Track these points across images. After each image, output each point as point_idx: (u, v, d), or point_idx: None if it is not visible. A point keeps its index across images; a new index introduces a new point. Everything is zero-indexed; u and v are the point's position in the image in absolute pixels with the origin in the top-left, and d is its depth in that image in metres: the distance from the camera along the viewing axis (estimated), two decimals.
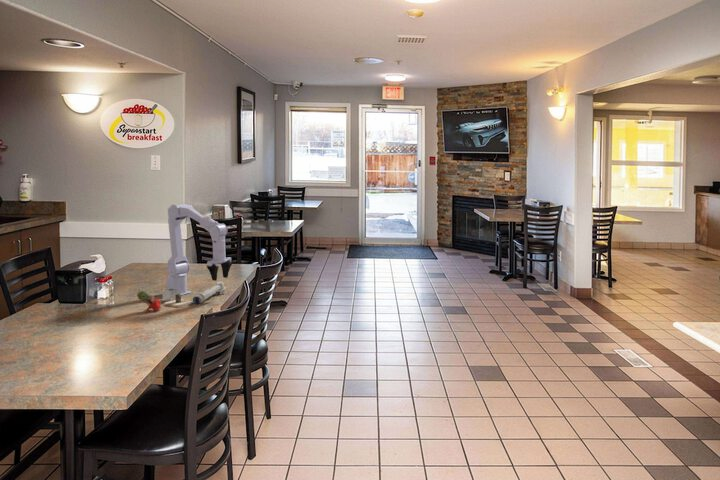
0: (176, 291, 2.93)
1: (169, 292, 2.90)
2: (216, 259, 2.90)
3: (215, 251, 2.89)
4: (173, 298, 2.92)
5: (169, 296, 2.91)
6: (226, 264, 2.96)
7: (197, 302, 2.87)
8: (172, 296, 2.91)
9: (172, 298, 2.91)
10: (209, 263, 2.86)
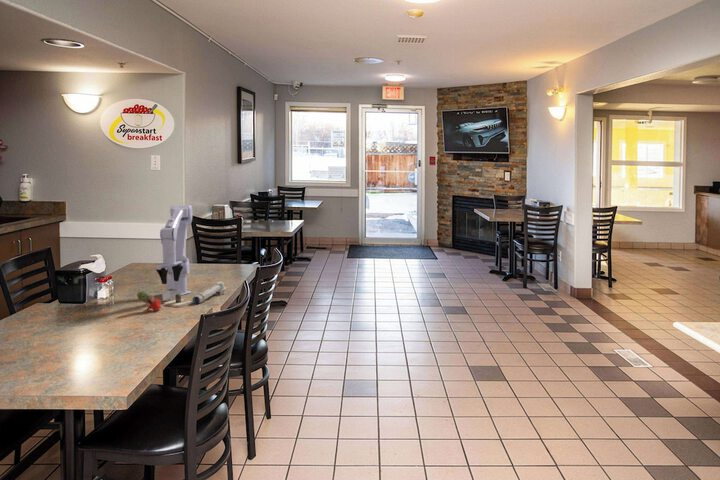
0: (176, 291, 2.93)
1: (169, 292, 2.90)
2: (166, 262, 2.89)
3: (165, 254, 2.89)
4: (173, 298, 2.92)
5: (169, 296, 2.91)
6: (177, 267, 2.95)
7: (197, 302, 2.87)
8: (172, 296, 2.91)
9: (172, 298, 2.91)
10: (158, 266, 2.85)
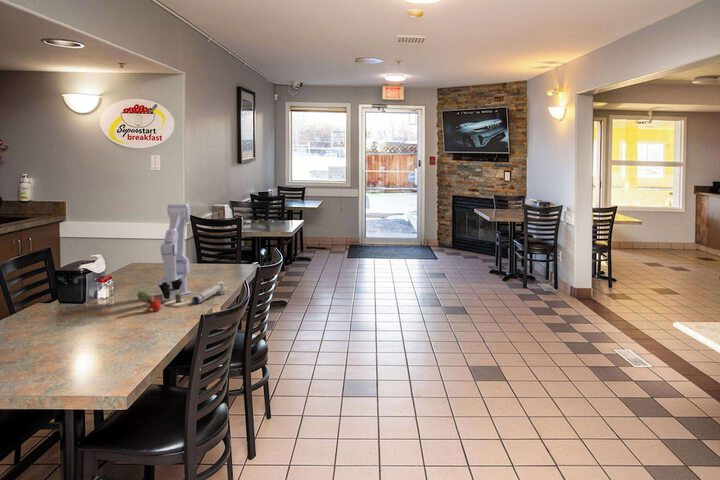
0: (176, 291, 2.93)
1: (169, 292, 2.90)
2: (166, 278, 2.90)
3: (165, 270, 2.90)
4: (173, 298, 2.92)
5: (169, 296, 2.91)
6: (176, 283, 2.95)
7: (196, 302, 2.87)
8: (172, 296, 2.91)
9: (172, 298, 2.91)
10: (159, 282, 2.86)
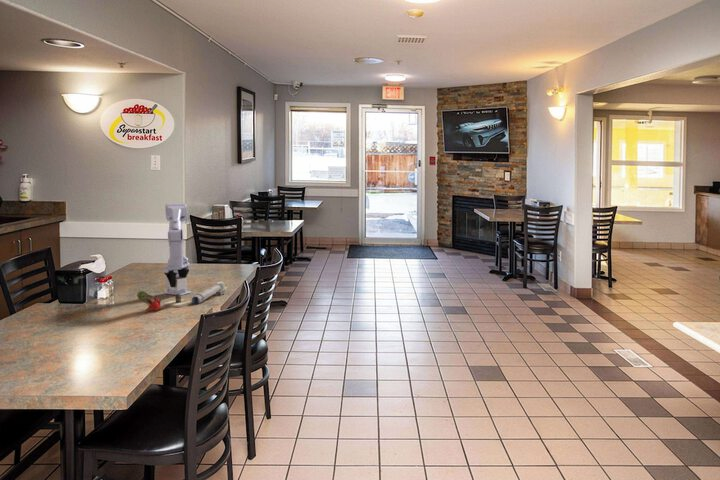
0: (183, 279, 2.85)
1: (175, 280, 2.82)
2: (173, 265, 2.82)
3: (172, 257, 2.81)
4: (180, 286, 2.83)
5: (175, 284, 2.82)
6: (183, 271, 2.87)
7: (196, 302, 2.87)
8: (179, 284, 2.83)
9: (179, 286, 2.83)
10: (165, 270, 2.78)
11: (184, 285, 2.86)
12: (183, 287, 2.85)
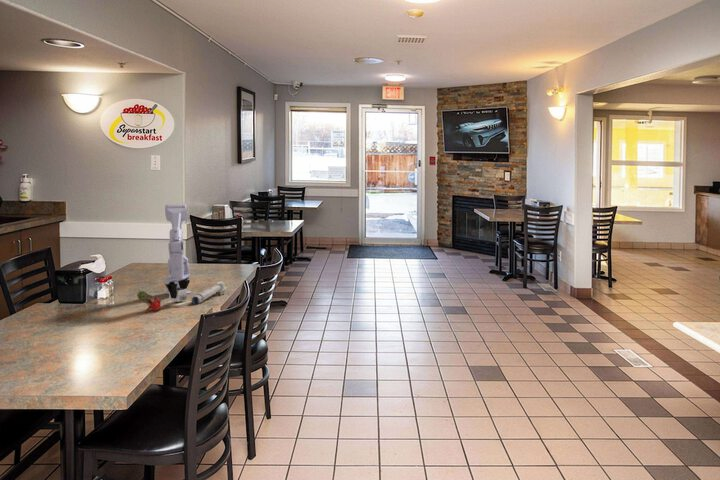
0: (183, 290, 2.85)
1: (176, 291, 2.83)
2: (173, 277, 2.82)
3: (172, 268, 2.82)
4: (180, 298, 2.84)
5: (176, 296, 2.83)
6: (183, 282, 2.87)
7: (196, 302, 2.87)
8: (179, 296, 2.83)
9: (179, 298, 2.83)
10: (166, 281, 2.79)
11: (185, 296, 2.86)
12: (184, 298, 2.86)
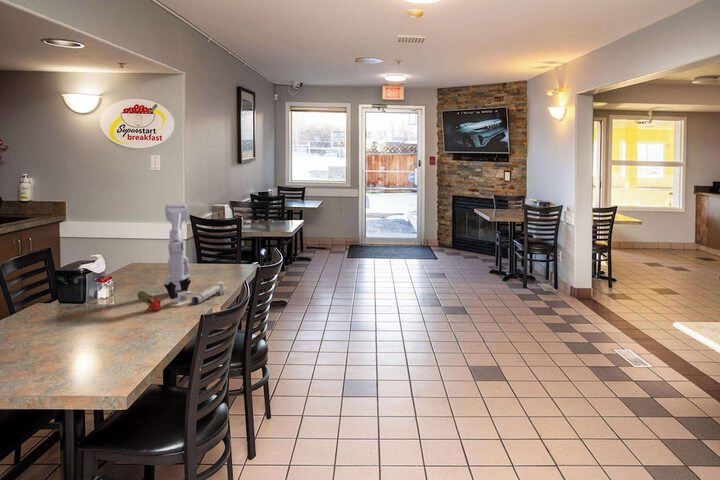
0: (183, 292, 2.86)
1: (176, 294, 2.83)
2: (173, 277, 2.82)
3: (172, 269, 2.82)
4: (180, 300, 2.84)
5: (176, 298, 2.83)
6: (185, 282, 2.88)
7: (196, 302, 2.87)
8: (179, 298, 2.83)
9: (179, 300, 2.84)
10: (166, 281, 2.79)
11: (185, 298, 2.87)
12: (184, 300, 2.86)
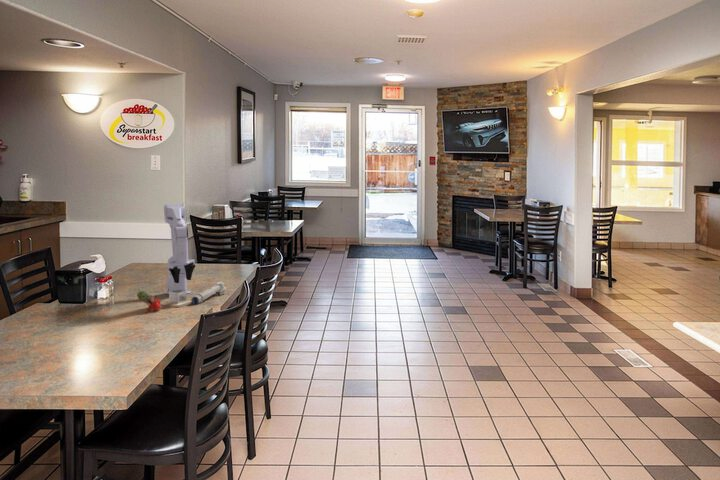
0: (183, 292, 2.86)
1: (176, 294, 2.83)
2: (178, 261, 2.88)
3: (177, 253, 2.87)
4: (180, 300, 2.84)
5: (176, 298, 2.83)
6: (189, 266, 2.93)
7: (196, 302, 2.87)
8: (179, 298, 2.83)
9: (179, 300, 2.84)
10: (171, 265, 2.84)
11: (185, 298, 2.87)
12: (184, 300, 2.86)
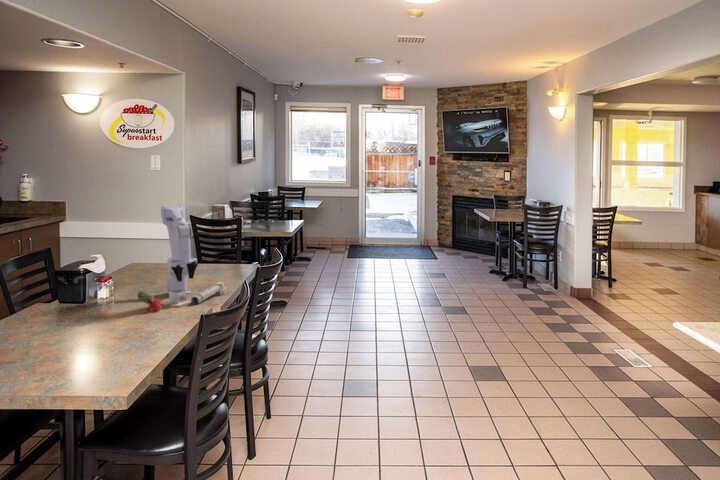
0: (183, 292, 2.86)
1: (176, 294, 2.83)
2: (181, 260, 2.90)
3: (180, 252, 2.90)
4: (180, 300, 2.84)
5: (176, 298, 2.83)
6: (192, 265, 2.96)
7: (195, 302, 2.86)
8: (179, 298, 2.83)
9: (179, 300, 2.84)
10: (173, 264, 2.87)
11: (185, 298, 2.87)
12: (184, 300, 2.86)
